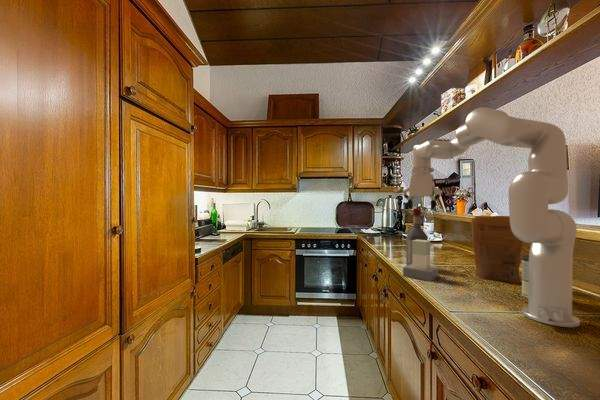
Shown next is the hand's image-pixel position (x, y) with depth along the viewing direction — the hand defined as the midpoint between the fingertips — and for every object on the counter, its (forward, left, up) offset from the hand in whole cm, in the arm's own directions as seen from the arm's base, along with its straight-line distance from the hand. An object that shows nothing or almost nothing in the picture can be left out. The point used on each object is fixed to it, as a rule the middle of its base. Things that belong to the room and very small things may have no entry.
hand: (421, 209), depth 128 cm
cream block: (0, 0, -26) cm, 26 cm away
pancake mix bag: (+16, -27, -31) cm, 44 cm away
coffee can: (-2, -41, -31) cm, 51 cm away
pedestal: (0, 0, -30) cm, 30 cm away
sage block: (0, 0, -20) cm, 20 cm away
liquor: (+16, +7, -31) cm, 35 cm away
